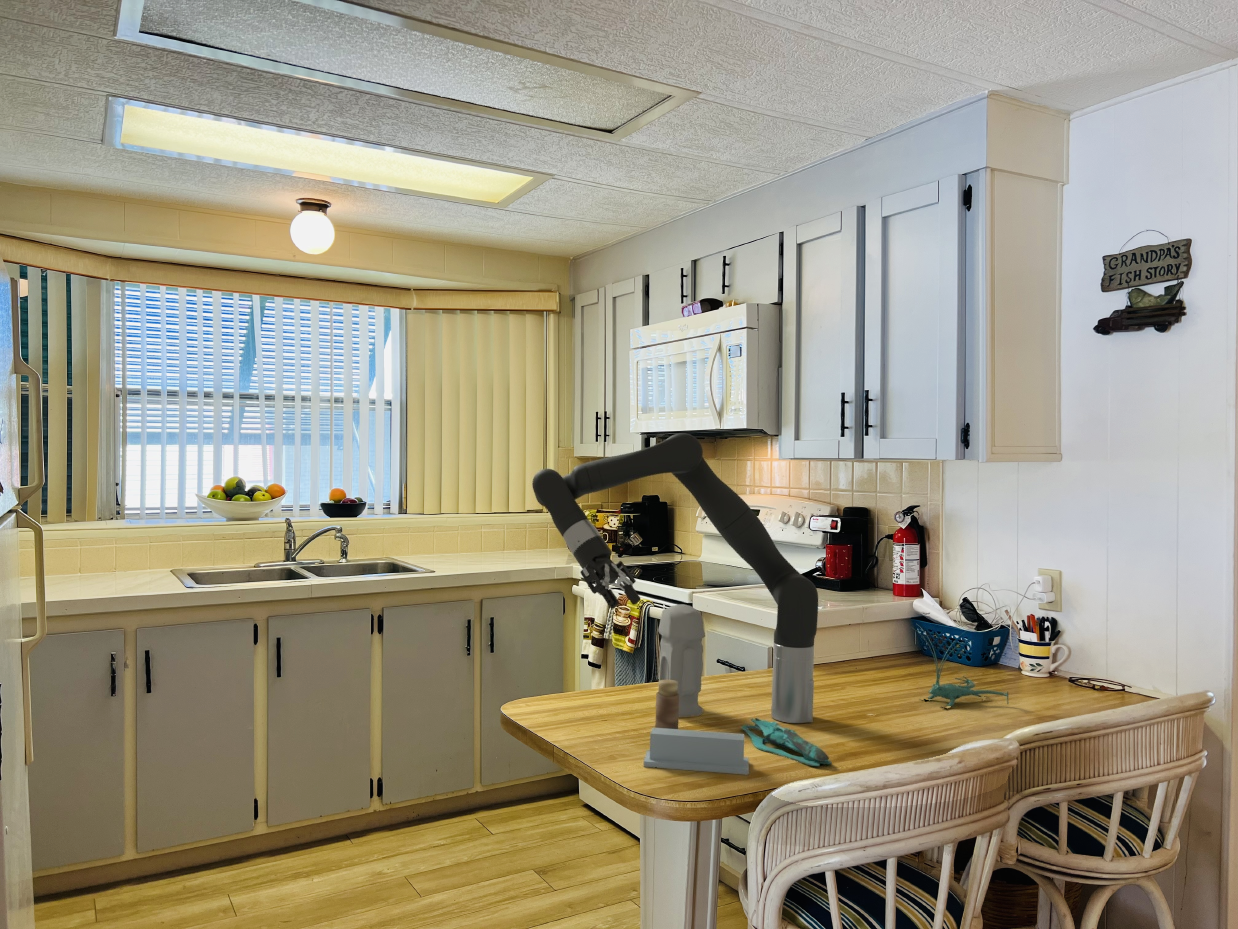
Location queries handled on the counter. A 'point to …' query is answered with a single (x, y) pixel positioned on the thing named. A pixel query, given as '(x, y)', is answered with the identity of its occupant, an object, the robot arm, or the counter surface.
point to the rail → (697, 751)
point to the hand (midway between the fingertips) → (626, 604)
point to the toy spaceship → (786, 743)
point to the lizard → (955, 690)
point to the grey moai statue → (682, 654)
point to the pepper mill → (667, 705)
